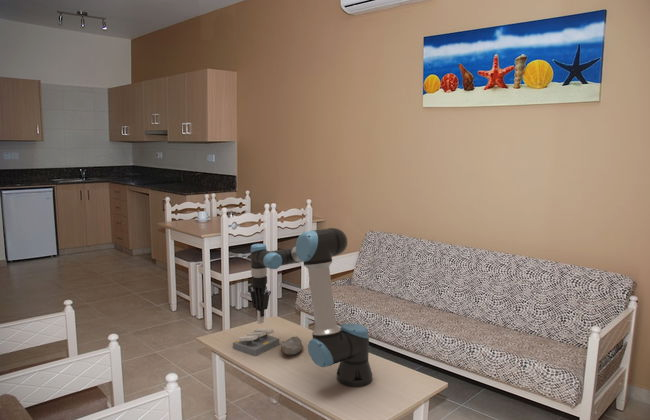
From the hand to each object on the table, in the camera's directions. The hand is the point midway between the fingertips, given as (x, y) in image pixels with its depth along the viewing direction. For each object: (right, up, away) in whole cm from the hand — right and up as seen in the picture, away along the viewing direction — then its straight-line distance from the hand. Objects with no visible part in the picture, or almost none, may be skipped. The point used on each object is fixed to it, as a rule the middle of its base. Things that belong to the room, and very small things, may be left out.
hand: (260, 322), depth 242 cm
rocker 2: (-2, -6, -1) cm, 6 cm away
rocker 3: (+1, -6, +4) cm, 7 cm away
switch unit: (-2, -12, 0) cm, 12 cm away
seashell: (+16, -13, -7) cm, 21 cm away
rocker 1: (-5, -7, -5) cm, 10 cm away
